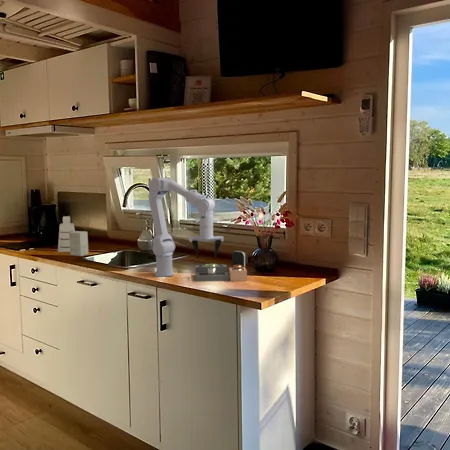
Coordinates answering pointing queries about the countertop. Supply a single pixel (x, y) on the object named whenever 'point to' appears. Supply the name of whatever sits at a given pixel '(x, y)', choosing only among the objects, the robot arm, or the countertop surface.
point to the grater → (65, 234)
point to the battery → (239, 258)
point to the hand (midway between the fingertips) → (206, 257)
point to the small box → (78, 243)
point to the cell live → (211, 269)
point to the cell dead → (237, 267)
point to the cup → (238, 274)
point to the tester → (202, 275)
